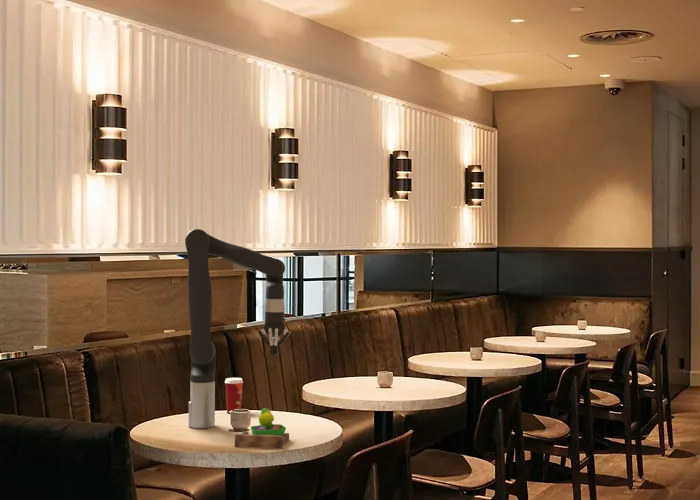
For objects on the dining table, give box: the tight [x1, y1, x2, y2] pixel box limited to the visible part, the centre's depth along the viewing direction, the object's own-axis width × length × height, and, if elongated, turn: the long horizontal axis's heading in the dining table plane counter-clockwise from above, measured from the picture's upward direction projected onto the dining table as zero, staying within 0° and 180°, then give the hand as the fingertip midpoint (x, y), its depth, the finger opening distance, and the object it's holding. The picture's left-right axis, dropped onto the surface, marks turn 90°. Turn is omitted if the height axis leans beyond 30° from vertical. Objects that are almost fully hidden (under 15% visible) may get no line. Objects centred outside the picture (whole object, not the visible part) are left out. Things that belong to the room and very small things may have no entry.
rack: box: [234, 430, 290, 449], centre depth 340 cm, size 16×14×4 cm
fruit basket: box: [250, 407, 287, 436], centre depth 344 cm, size 11×9×11 cm
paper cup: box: [224, 377, 244, 415], centre depth 395 cm, size 8×8×14 cm
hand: (274, 355), depth 372 cm, fingers closed
